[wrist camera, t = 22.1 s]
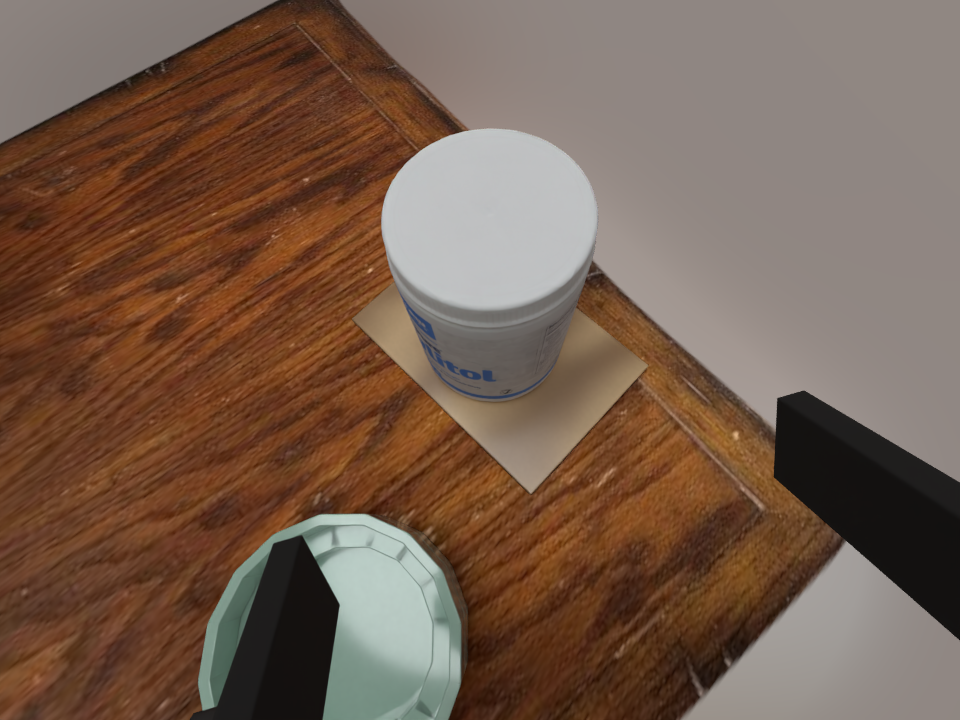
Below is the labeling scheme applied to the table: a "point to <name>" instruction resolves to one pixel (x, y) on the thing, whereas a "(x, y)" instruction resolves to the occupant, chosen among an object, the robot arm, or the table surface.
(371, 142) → the table surface
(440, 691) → the bowl
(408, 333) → the mat
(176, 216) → the table surface
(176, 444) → the table surface
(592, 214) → the supplement tub
